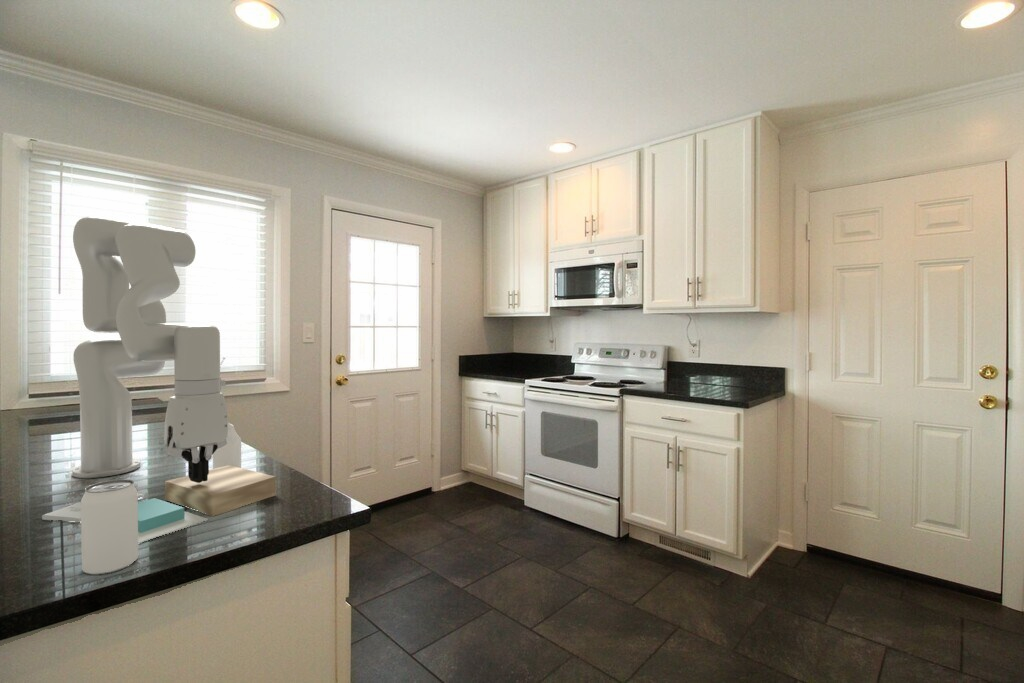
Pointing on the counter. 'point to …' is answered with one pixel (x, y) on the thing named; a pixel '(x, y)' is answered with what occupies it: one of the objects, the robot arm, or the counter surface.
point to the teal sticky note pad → (157, 514)
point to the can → (109, 526)
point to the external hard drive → (69, 513)
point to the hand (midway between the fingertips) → (198, 480)
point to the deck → (221, 490)
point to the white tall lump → (229, 451)
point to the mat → (171, 527)
